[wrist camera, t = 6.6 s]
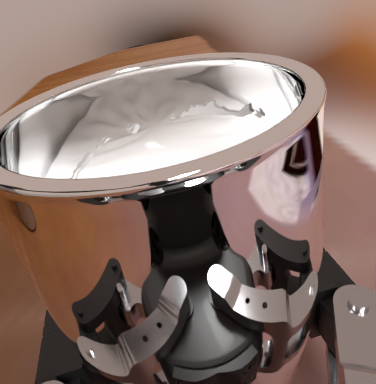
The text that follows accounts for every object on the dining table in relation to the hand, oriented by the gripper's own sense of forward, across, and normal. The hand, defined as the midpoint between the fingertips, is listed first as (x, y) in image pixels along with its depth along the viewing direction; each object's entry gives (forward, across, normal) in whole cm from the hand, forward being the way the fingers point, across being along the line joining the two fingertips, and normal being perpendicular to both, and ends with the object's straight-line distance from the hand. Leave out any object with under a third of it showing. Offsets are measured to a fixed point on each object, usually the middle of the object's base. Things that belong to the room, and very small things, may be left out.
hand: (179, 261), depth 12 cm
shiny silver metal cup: (-2, 0, +8) cm, 9 cm away
